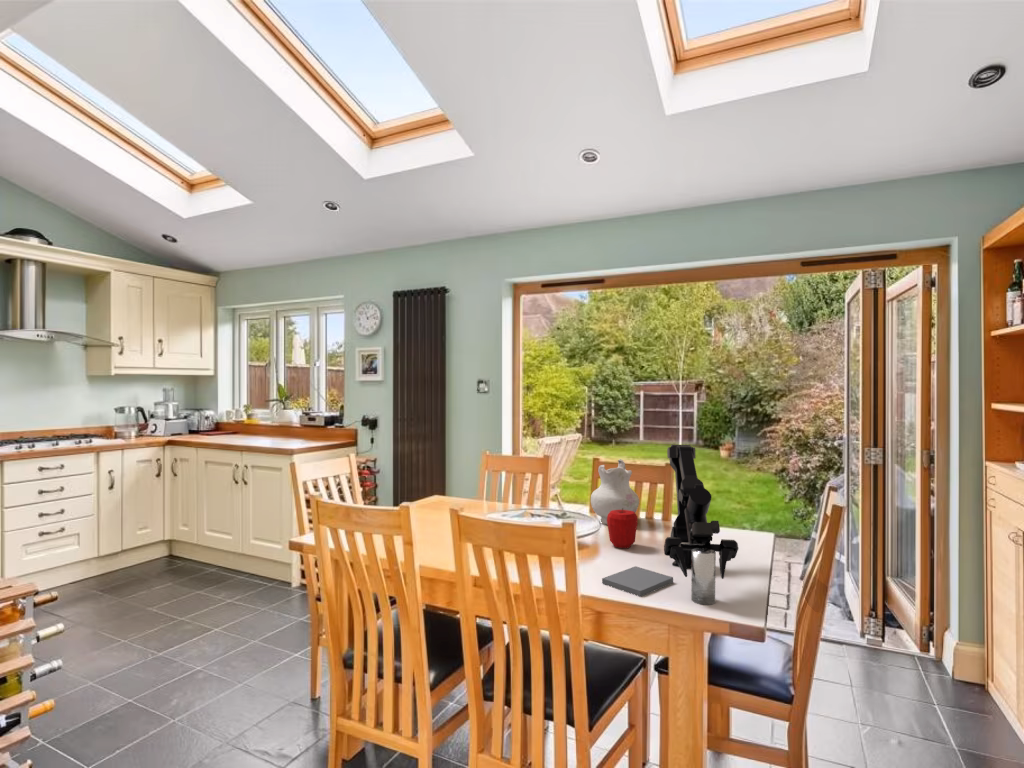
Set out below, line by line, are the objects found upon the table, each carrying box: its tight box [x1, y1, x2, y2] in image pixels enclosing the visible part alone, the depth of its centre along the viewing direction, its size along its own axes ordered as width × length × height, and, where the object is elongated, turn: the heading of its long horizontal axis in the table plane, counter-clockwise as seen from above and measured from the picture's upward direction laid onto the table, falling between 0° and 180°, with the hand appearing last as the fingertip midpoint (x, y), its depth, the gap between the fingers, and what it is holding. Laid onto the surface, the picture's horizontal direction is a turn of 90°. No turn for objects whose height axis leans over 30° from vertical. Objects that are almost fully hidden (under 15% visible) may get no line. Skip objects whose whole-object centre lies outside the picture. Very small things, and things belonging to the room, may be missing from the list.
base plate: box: [601, 565, 674, 597], centre depth 162 cm, size 16×13×2 cm
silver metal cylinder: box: [690, 548, 717, 606], centre depth 150 cm, size 6×6×13 cm
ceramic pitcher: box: [590, 458, 640, 526], centre depth 234 cm, size 22×20×25 cm
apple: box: [607, 508, 639, 549], centre depth 199 cm, size 10×10×14 cm
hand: (704, 577), depth 148 cm, fingers open, 9 cm apart
